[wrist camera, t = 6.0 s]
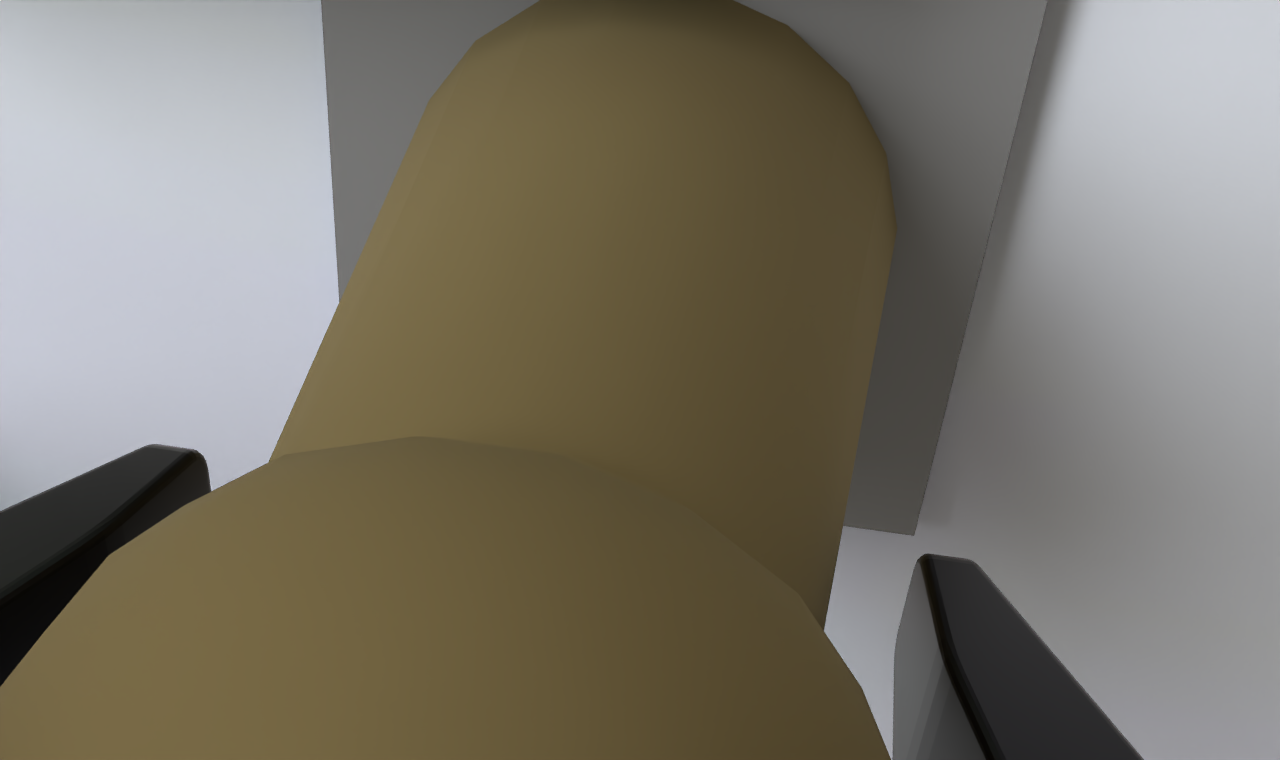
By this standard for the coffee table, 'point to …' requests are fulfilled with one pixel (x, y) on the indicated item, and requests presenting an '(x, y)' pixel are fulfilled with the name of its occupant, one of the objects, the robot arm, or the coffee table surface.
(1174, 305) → the coffee table surface
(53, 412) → the coffee table surface
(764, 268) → the cork
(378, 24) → the pad
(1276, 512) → the coffee table surface
